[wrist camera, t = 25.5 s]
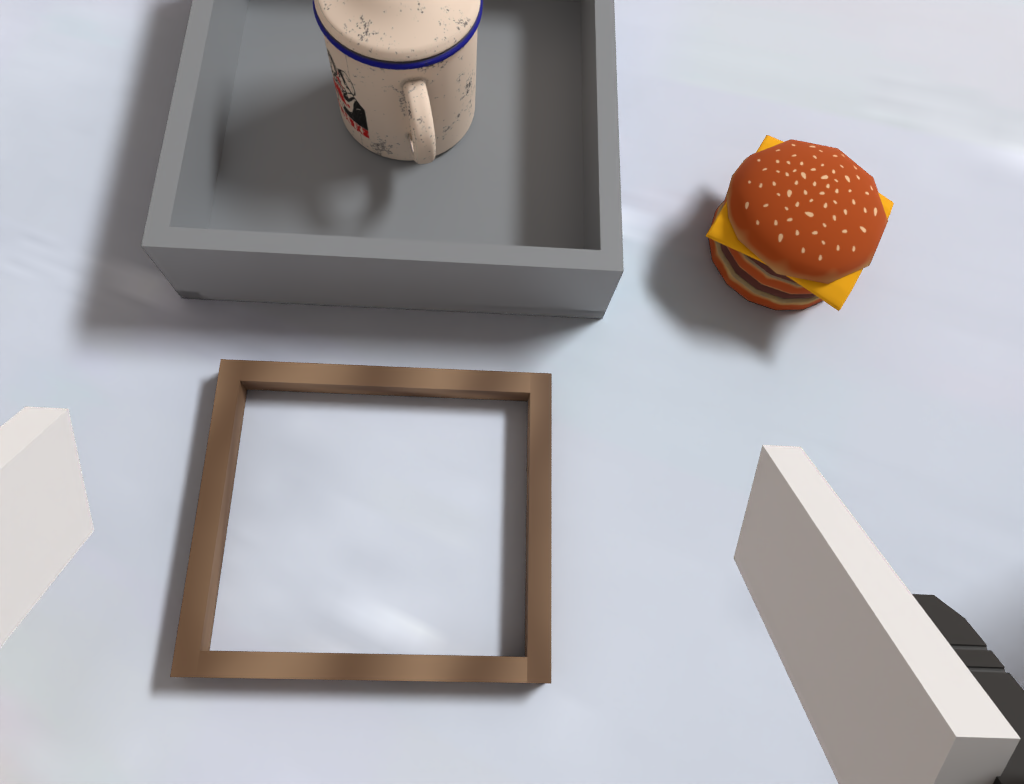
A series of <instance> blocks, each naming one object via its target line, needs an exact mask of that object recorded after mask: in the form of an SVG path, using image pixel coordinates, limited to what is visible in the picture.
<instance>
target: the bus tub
mask: <svg viewBox="0 0 1024 784" xmlns="http://www.w3.org/2000/svg"><path fill="white" fill-rule="evenodd" d="M141 246H142V248H143V249H144V250H145V252H146V253H147V254H148V255H149V257H150V258H151V259H152V260H153V262H154V263H155V264H156V266H157V267H158V268H159V269H160V271H161V272H162V273H163V275H164V276H165V277H166V278H167V280H168V281H169V282H170V283H171V285H172V286H173V287H174V289H175V290H176V291H177V292H178V294H179V295H180V296H181V298H187V299H208V300H229V301H249V302H270V303H291V304H312V305H332V306H353V307H374V308H394V309H415V310H436V311H457V312H477V313H498V314H519V315H540V316H560V317H581V318H603V316H604V314H605V311H606V309H607V307H608V305H609V302H610V300H611V298H612V296H613V294H614V291H615V289H616V287H617V285H618V282H619V280H620V278H621V276H622V273H623V243H622V214H621V185H620V157H619V128H618V99H617V70H616V42H615V13H614V0H483V9H482V16H481V20H480V23H479V25H478V29H477V61H476V92H475V111H474V117H473V120H472V123H471V125H470V127H469V129H468V131H467V132H466V134H465V135H464V136H463V137H462V139H461V140H460V141H459V142H458V143H456V144H455V145H454V146H453V147H451V148H450V149H448V150H447V151H445V152H443V153H441V154H439V155H436V156H435V158H434V160H433V161H432V162H431V163H426V164H418V163H416V162H415V161H414V160H410V161H406V160H396V159H391V158H386V157H383V156H380V155H378V154H376V153H374V152H372V151H370V150H368V149H367V148H365V147H364V146H362V145H361V144H360V143H359V142H358V141H357V140H356V139H355V138H354V137H353V136H352V135H351V134H350V132H349V131H348V129H347V128H346V126H345V124H344V121H343V119H342V116H341V112H340V107H339V103H338V98H337V93H336V89H335V84H334V80H333V75H332V71H331V66H330V62H329V57H328V53H327V48H326V44H325V39H324V35H323V33H322V31H321V29H320V27H319V26H318V23H317V21H316V18H315V15H314V11H313V0H192V5H191V10H190V15H189V19H188V24H187V29H186V34H185V39H184V43H183V48H182V53H181V58H180V62H179V67H178V72H177V77H176V82H175V86H174V91H173V96H172V101H171V106H170V110H169V115H168V120H167V125H166V129H165V134H164V139H163V144H162V149H161V153H160V158H159V163H158V168H157V172H156V177H155V182H154V187H153V192H152V196H151V201H150V206H149V211H148V216H147V220H146V225H145V230H144V235H143V239H142V244H141Z"/></svg>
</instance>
